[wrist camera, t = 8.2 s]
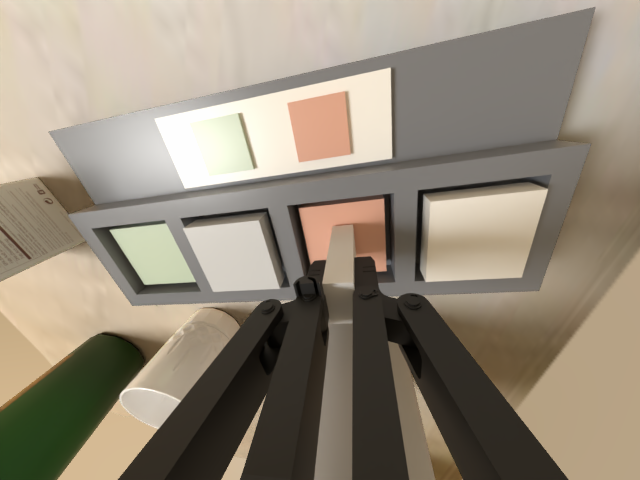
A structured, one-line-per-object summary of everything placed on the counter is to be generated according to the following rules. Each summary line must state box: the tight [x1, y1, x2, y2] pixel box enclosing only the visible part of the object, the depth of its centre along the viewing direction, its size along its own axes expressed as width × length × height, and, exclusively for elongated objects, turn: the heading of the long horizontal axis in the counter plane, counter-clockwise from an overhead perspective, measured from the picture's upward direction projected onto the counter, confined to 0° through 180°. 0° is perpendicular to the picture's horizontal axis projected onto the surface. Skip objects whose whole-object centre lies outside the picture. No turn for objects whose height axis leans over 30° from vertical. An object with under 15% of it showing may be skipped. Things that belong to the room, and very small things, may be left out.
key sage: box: [109, 220, 196, 285], centre depth 21 cm, size 6×6×2 cm
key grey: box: [183, 212, 285, 292], centre depth 18 cm, size 6×6×2 cm
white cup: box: [119, 308, 240, 429], centre depth 25 cm, size 8×8×10 cm
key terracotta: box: [299, 194, 387, 272], centre depth 18 cm, size 6×6×2 cm
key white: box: [420, 182, 548, 282], centre depth 15 cm, size 6×6×2 cm
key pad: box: [49, 7, 595, 306], centre depth 18 cm, size 18×36×4 cm, turn 99°
